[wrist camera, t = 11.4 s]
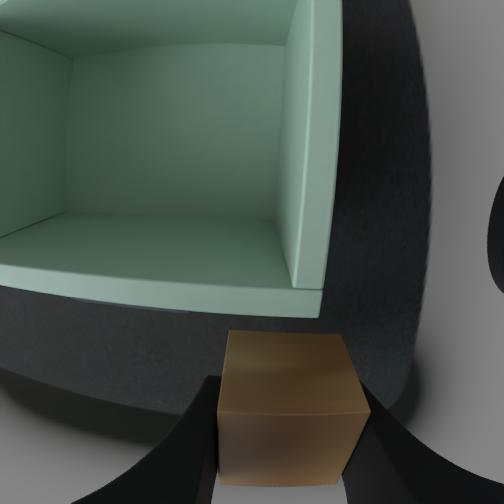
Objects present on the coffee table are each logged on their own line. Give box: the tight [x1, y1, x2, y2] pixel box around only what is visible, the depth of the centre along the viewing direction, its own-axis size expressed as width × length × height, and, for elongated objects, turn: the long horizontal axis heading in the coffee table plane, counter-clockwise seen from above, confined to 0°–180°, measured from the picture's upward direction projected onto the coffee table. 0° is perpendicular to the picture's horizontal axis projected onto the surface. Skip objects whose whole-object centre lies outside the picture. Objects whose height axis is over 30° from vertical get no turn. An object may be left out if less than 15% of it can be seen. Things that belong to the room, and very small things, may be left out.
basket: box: [0, 0, 343, 318], centre depth 8 cm, size 10×10×7 cm
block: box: [217, 330, 371, 487], centre depth 10 cm, size 4×4×4 cm
